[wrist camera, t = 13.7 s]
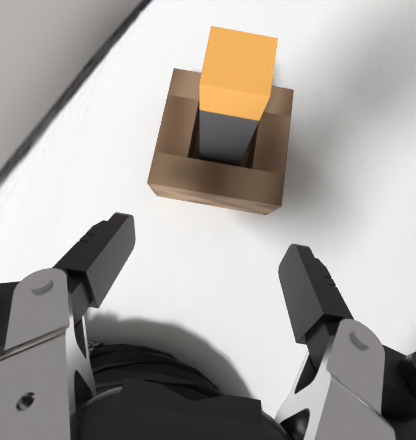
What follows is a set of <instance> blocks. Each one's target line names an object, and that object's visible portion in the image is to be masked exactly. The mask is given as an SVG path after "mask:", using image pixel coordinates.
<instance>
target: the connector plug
mask: <svg viewBox="0 0 416 440" xmlns="http://www.w3.org/2000/svg"><path fill="white" fill-rule="evenodd" d="M277 40H278V38H273V37H268V36H262V35H257V34H252V33H246V32H241V31H235V30H230V29H225V28H219V27H214V26H211V30H210V35H209V39H208V44H207V49H206V54H205V59H204V64H203V69H202V74H201V79H200V84H199V93H200V160H204V161H210V162H215V163H221V164H227V165H232V166H238V167H239V165H240V162H241V160H242V158H243V156H244V153H245V151H246V149H247V147H248V145H249V142H250V140H251V138H252V136H253V134H254V131H255V129H256V127H257V125H258V122H259V120H260V118H261V116H262V114H263V111H264V109H265V107H266V105H267V103H268V100H269V98H270V94H271V86H272V78H273V71H274V63H275V55H276V48H277Z"/></svg>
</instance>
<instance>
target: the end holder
mask: <svg viewBox="0 0 416 440" xmlns="http://www.w3.org/2000/svg"><path fill="white" fill-rule="evenodd" d="M201 74H202V73H198V72H192V71H187V70H181V69H176V68H174V70H173V74H172V78H171V83H170V87H169V91H168V96H167V100H166V104H165V108H164V113H163V117H162V121H161V126H160V130H159V134H158V139H157V143H156V147H155V151H154V156H153V160H152V164H151V169H150V173H149V177H148V182H147V183H148V185H149V186H150V187H151V189H152V190H153V191H154V193H155V194H156V195H157V196H160V197H166V198H171V199H177V200H183V201H189V202H194V203H200V204H206V205H212V206H218V207H223V208H229V209H235V210H241V211H246V212H252V213H258V214H264V215H267V214H269V213H270V212H272V211H274V210H276V209H278V208H279V207H281V205H282V196H283V186H284V177H285V167H286V158H287V148H288V139H289V129H290V120H291V110H292V101H293V91H294V90H291V89H286V88H280V87H275V86H271V94H270V98H269V100H268V103H267V105H266V107H265V109H264V111H263V114H262V116H261V118H260V120H259V122H258V125H257V127H256V129H255V131H254V134H253V136H252V138H251V140H250V142H249V145H248V147H247V149H246V151H245V153H244V156H243V158H242V160H241V162H240V165H239V167H238V166H232V165H227V164H221V163H215V162H210V161H204V160H200V93H199V84H200V79H201Z"/></svg>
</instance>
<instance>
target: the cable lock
mask: <svg viewBox="0 0 416 440" xmlns="http://www.w3.org/2000/svg"><path fill="white" fill-rule="evenodd" d="M87 343H88V352H89V360H90V365H91V369H92V372H93V377H94V382H95V388H96V396H98V395H99V394H102V393H104V392H106V391H108V390H111V389H114V388H117V387H122V386H123V383H124V380H125V378H130V379H136V380H142V381H148V382H154V383H159V384H161V385H163V386H165V387H166V388H168V389H170V390H172V391H174V392H175V393H177V394H179V395H181V396H183V397H184V398H186V399H188V400H190V401H197V400H203V399H208V398H213V397H218V396H224V395H223V394H222V393H221V391H220V390H219V389H218V387H217V386H215V385H214V384H213V383H212V382H211V381H210V380H209V379H207V378H206V377H205V376H204V375H203V374H202V373H201V372H199V371H198V370H197V369H195V368H193V367H190V366H188V365H186V364H184V363H182V362H180V361H179V360H177V359H176V358H175V357H173V356H172V355H171V354H168V353H165V352H161V351H158V350H155V349H151V348H148V347H142V346H134V345H125V344H117V345H103V344H104V343H101V342H95V341H89V342H88V341H87Z"/></svg>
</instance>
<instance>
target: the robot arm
mask: <svg viewBox="0 0 416 440" xmlns="http://www.w3.org/2000/svg"><path fill="white" fill-rule="evenodd" d="M134 245H135V227H134V218H133V216H132V215H129V214H124V213H118V212H116V213H115V214H114V215H113V216H112V217H111V218H110V219H109V220H108V221H104V220H103V221H101V222H100V223H98V224H96V225H94V226H92V227H91V229H90V230H89V231H88V232H87V233H86V235H84V236H83V237H82V238H81V239H80V240H79V242H77V243H76V244H75V245H74V246H73V247H72V248H71V249H70V250H69V251H68V252H67V253H66V254H65V255H64V256H63V257H62V258H61V259H60V260H59V261H58V262H57V264H56V265H55V266H54V267H52V268H49V269H43V270H39V271H37V272H34V273H32V274H30V275H28V276H27V277H25V278H24V279H23V280H22V281H19V282H9V283H0V440H416V352H414V353H412V354H410V355H408V356H406V355H404V354H401V353H399V352H397V351H395V350H393V349H391V348H389V347H386V346H384V345H382V344H381V342H380V341H379V339H378V338H377V336H376V335H375V334H374V333H373V332H372V331H371V330H370V329H369V328H367V327H366V326H365V325H363V324H362V323H360V322H358V321H355V320H354V318H353V317H352V315H351V313H350V311H349V309H348V307H347V305H346V304H345V302H344V300H343V298H342V296H341V294H340V292H339V290H338V288H337V287H335V286H336V285H335V283H334V281H333V279H331V275H330V273H329V272H328V270H327V268H326V267H325V266H324V265H323V264H322V262H321V261H320V260H319V259H317V258H315V257H314V255H313V253H312V251H311V249H310V248H309V247H308V246H303V245H297V244H291V245H290V247H289V248H288V250H287V252H286V254H285V256H284V257H283V259H282V261H281V263H280V265H279V270H278V274H279V279H280V283H281V287H282V290H283V294H284V298H285V302H286V306H287V310H288V314H289V317H290V321H291V325H292V329H293V333H294V337H295V341H296V343H300V344H306V345H307V347H308V352H307V353H306V355H305V357H304V359H303V362H302V364H301V366H300V369H299V371H298V374H297V376H296V378H295V381H294V383H293V386H292V388H291V391H290V393H289V395H288V397H287V398H286V400H285V401H284V402H283V404H282V405H281V407H280V409H279V410H278V412H277V414H276V416H275V419H273V418H272V417H271V416H269V415H268V414H266V413H265V412H264V411H262V408H261V400H257V399H250V398H244V397H238V396H232V395H224V396H218V397H213V398H208V399H203V400H197V401H190V400H188V399H186V398H184V397H183V396H181V395H179V394H177V393H175V392H174V391H172V390H170V389H168V388H166V387H165V386H163V385H161V384H159V383H154V382H148V381H142V380H136V379H130V378H125V380H124V383H123V386H122V387H117V388H114V389H111V390H108V391H106V392H104V393H102V394H99V395H98V396H96V388H95V382H94V377H93V372H92V369H91V365H90V360H89V352H88V344H87V336H86V328H85V320H84V313H85V312H86V310H87V309H88V307H94V308H99V307H100V305H101V303H102V301H103V300H104V298H105V296H106V295H107V293H108V291H109V290H110V288H111V286H112V284H113V283H114V281H115V279H116V278H117V276H118V274H119V272H120V271H121V269H122V267H123V266H124V264H125V262H126V261H127V259H128V257H129V255H130V254H131V252H132V250H133V248H134Z"/></svg>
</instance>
